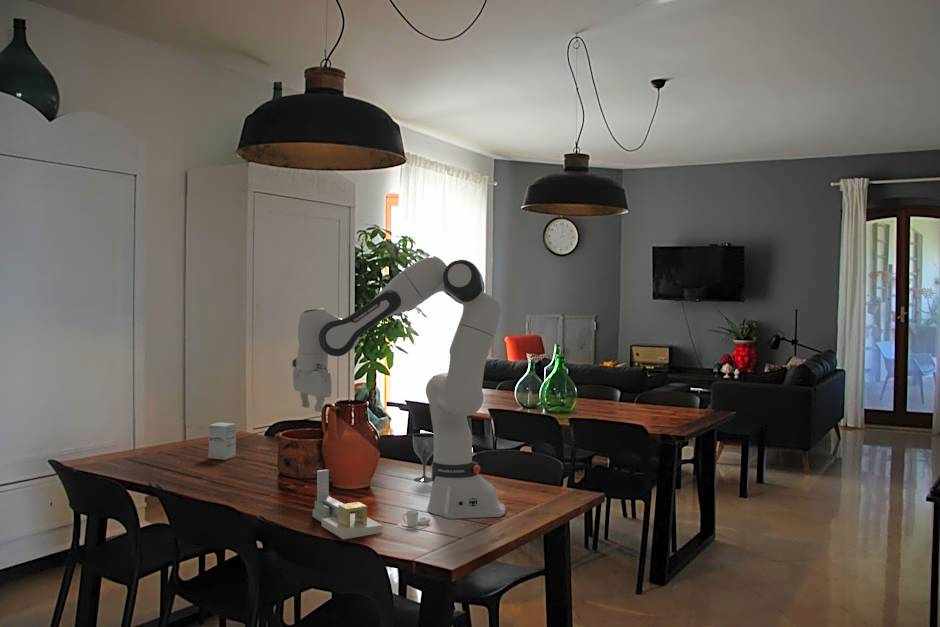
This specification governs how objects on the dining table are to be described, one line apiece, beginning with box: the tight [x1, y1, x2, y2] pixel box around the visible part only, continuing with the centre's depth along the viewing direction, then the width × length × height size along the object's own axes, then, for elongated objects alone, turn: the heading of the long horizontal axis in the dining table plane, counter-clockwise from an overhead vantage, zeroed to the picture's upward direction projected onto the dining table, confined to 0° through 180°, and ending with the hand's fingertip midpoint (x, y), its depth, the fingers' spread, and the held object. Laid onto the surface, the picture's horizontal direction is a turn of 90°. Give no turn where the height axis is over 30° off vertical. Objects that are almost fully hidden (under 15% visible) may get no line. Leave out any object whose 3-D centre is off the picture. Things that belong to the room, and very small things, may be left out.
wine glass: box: [412, 432, 434, 483], centre depth 267 cm, size 8×8×15 cm
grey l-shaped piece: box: [316, 469, 344, 518], centre depth 218 cm, size 15×3×10 cm, turn 34°
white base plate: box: [321, 512, 383, 540], centre depth 210 cm, size 14×11×2 cm
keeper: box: [338, 501, 368, 528], centre depth 208 cm, size 5×6×5 cm
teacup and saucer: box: [396, 509, 431, 531], centre depth 215 cm, size 9×8×4 cm
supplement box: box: [207, 422, 237, 461], centre depth 297 cm, size 7×7×13 cm
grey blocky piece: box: [312, 498, 339, 523], centre depth 220 cm, size 8×7×4 cm
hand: (311, 409), depth 237 cm, fingers open, 8 cm apart
